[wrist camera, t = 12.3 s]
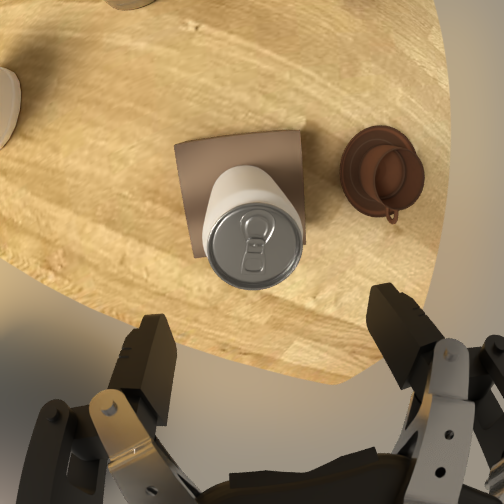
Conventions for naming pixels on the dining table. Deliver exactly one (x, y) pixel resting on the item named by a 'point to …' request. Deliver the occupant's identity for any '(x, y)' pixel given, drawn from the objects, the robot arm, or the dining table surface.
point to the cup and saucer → (381, 172)
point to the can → (251, 230)
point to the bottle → (8, 103)
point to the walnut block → (231, 155)
